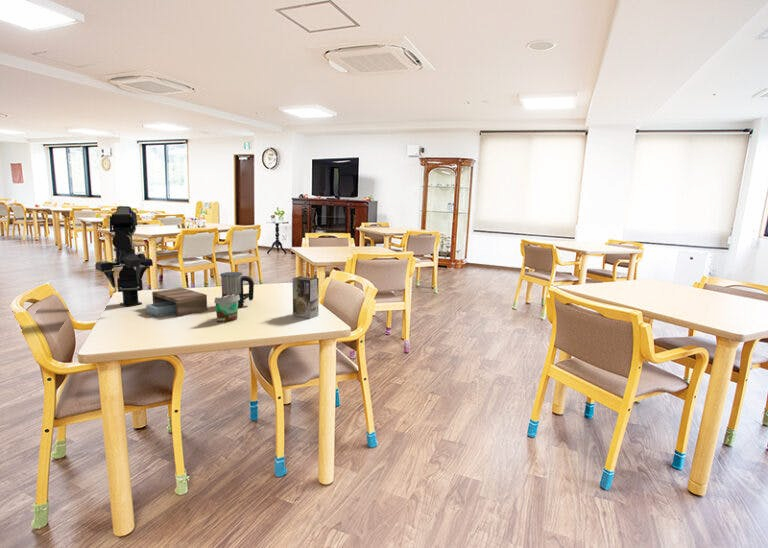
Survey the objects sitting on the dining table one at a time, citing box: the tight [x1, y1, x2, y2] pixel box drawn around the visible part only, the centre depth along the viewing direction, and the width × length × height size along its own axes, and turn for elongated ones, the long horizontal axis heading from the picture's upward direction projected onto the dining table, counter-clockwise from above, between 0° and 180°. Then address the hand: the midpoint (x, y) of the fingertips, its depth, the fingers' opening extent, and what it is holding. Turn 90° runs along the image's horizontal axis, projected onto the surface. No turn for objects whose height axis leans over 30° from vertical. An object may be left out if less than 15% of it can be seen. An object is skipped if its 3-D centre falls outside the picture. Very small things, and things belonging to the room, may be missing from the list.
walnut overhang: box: [151, 286, 208, 318], centre depth 178 cm, size 20×12×7 cm, turn 55°
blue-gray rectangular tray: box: [145, 301, 176, 318], centre depth 176 cm, size 8×16×4 cm, turn 145°
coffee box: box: [292, 275, 320, 319], centre depth 176 cm, size 9×6×16 cm
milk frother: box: [219, 271, 255, 309], centre depth 190 cm, size 14×16×15 cm
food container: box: [213, 292, 240, 323], centre depth 167 cm, size 12×6×10 cm, turn 168°
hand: (126, 285), depth 166 cm, fingers open, 9 cm apart
